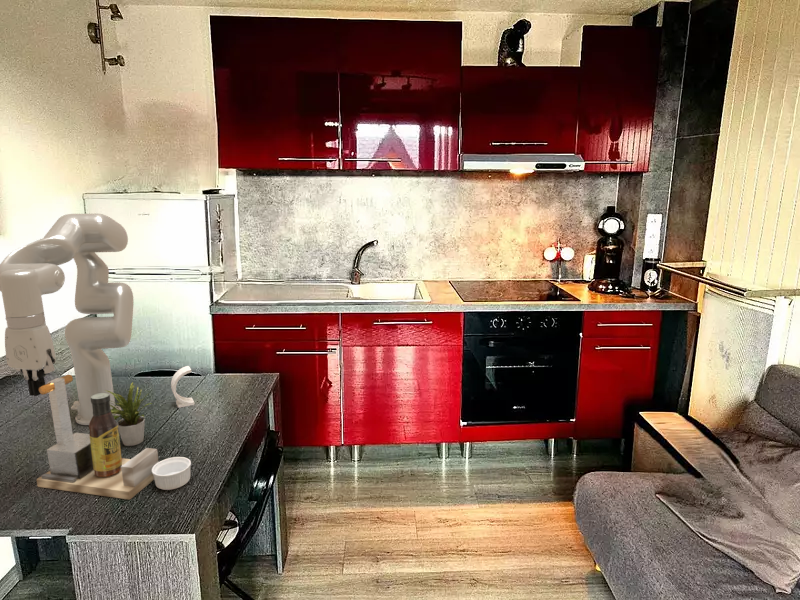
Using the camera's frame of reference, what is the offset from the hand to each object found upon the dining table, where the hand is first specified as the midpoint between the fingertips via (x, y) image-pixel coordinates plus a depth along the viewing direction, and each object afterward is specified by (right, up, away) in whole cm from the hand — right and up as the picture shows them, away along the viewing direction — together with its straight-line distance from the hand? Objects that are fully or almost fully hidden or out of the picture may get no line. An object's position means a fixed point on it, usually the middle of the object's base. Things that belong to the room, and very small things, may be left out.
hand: (38, 393), depth 134 cm
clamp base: (+15, -21, +2) cm, 26 cm away
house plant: (+12, -17, +21) cm, 30 cm away
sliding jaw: (+9, -19, +2) cm, 21 cm away
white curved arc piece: (+18, -11, +45) cm, 50 cm away
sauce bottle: (+17, -20, +1) cm, 26 cm away
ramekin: (+33, -22, 0) cm, 39 cm away
